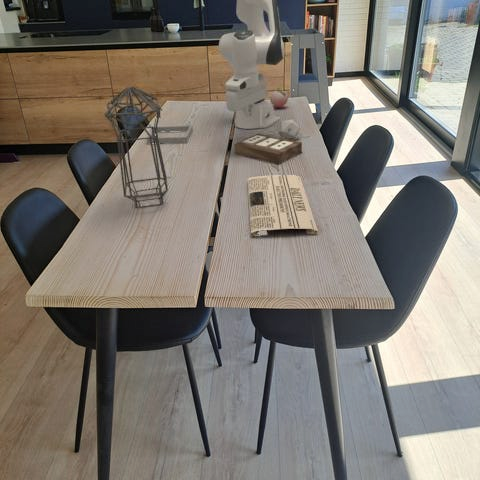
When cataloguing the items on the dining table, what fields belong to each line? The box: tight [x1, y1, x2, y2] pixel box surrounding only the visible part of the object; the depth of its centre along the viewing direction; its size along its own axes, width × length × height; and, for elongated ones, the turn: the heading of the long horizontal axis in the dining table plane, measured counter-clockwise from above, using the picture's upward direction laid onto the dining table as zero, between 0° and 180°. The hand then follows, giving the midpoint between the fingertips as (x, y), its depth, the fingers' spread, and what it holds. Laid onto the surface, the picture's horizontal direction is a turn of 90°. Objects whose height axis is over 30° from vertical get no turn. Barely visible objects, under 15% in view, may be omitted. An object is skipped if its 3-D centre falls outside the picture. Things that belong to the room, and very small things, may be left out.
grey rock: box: [276, 118, 301, 141], centre depth 187 cm, size 8×9×10 cm
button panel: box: [233, 133, 303, 166], centre depth 175 cm, size 15×21×4 cm
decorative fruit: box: [269, 88, 289, 109], centre depth 230 cm, size 9×8×10 cm
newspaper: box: [246, 174, 319, 238], centre depth 136 cm, size 37×19×3 cm, turn 1°
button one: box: [256, 138, 279, 148], centre depth 174 cm, size 9×4×3 cm, turn 140°
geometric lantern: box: [103, 85, 169, 209], centre depth 135 cm, size 16×16×35 cm
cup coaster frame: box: [146, 125, 194, 144], centre depth 198 cm, size 17×17×2 cm
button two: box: [270, 141, 293, 151], centre depth 171 cm, size 9×4×3 cm, turn 140°
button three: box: [243, 134, 266, 145], centre depth 178 cm, size 9×4×3 cm, turn 140°
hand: (248, 115), depth 176 cm, fingers closed
